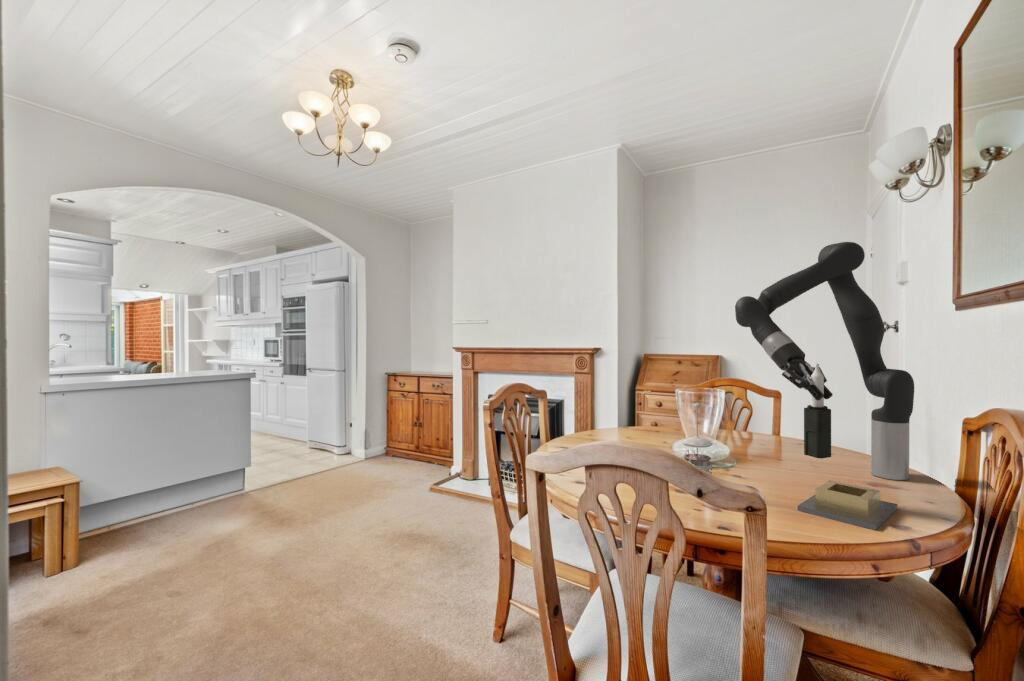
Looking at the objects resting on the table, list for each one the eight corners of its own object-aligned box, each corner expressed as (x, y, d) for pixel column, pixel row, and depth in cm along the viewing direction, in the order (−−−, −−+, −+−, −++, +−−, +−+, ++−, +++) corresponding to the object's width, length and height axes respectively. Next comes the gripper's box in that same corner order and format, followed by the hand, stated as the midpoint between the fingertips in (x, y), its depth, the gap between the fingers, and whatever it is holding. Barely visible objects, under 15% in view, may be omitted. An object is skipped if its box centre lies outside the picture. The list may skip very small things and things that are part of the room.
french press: (721, 490, 134) (721, 403, 134) (704, 501, 126) (704, 407, 126) (688, 483, 141) (688, 399, 141) (669, 492, 133) (669, 404, 133)
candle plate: (824, 492, 132) (824, 474, 132) (897, 508, 120) (897, 489, 120) (797, 510, 119) (797, 490, 119) (875, 530, 107) (875, 508, 107)
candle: (833, 456, 126) (833, 363, 126) (819, 458, 125) (819, 364, 124) (815, 452, 131) (815, 362, 131) (802, 454, 129) (801, 363, 129)
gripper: (774, 342, 131) (818, 390, 120) (807, 340, 137) (852, 387, 126) (757, 360, 136) (798, 408, 125) (790, 358, 142) (832, 404, 131)
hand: (825, 397), depth 126 cm, fingers closed on candle, 3 cm apart
